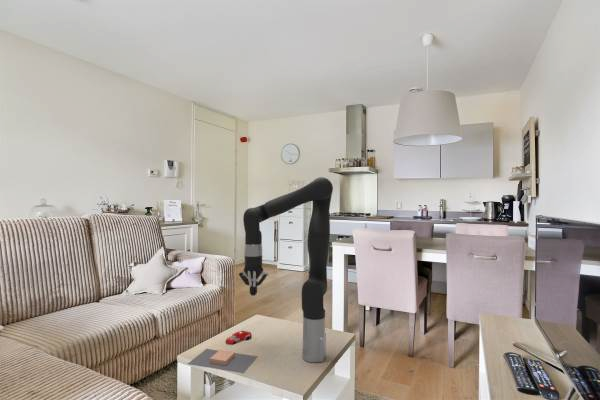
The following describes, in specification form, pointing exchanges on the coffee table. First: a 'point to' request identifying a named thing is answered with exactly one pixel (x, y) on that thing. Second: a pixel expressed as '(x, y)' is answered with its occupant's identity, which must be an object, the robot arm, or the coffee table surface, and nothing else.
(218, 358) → the tile
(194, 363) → the mat
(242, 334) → the race car
